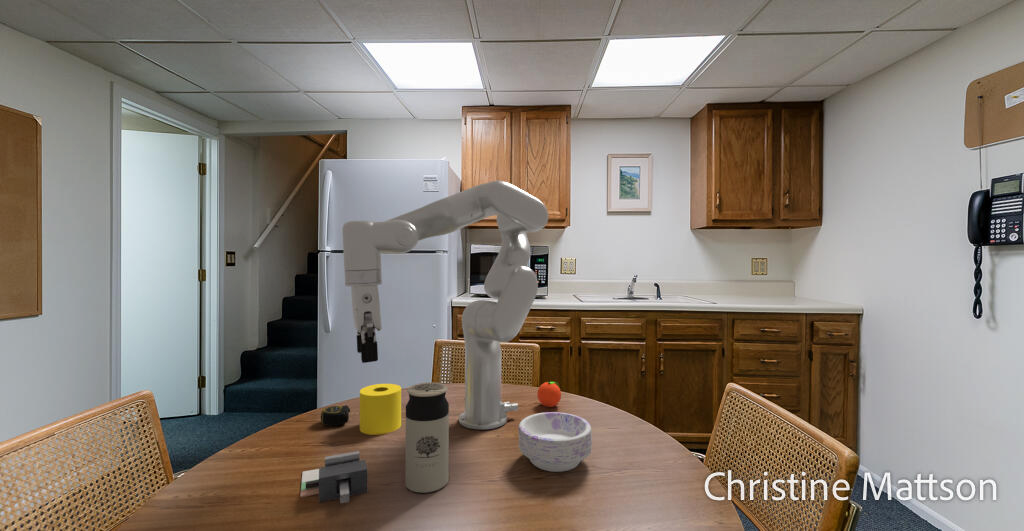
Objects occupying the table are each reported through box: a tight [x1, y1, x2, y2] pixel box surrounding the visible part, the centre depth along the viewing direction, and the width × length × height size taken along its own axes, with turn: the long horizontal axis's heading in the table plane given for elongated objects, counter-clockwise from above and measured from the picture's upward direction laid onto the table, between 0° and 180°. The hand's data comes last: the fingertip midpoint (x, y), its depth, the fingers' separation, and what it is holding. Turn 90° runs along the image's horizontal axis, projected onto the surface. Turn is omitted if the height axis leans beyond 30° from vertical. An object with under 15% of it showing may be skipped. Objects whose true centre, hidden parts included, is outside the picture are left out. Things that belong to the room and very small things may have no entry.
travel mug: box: [404, 382, 450, 494], centre depth 79 cm, size 8×8×18 cm
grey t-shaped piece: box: [306, 450, 361, 504], centre depth 74 cm, size 9×10×5 cm
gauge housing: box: [318, 459, 369, 503], centre depth 76 cm, size 8×4×4 cm, turn 114°
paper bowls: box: [518, 411, 593, 473], centre depth 88 cm, size 15×15×8 cm
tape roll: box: [359, 383, 402, 436], centre depth 106 cm, size 10×10×9 cm
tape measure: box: [320, 405, 351, 427], centre depth 108 cm, size 7×7×4 cm
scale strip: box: [299, 468, 319, 498], centre depth 79 cm, size 3×10×1 cm, turn 24°
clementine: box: [536, 381, 562, 408], centre depth 122 cm, size 8×7×7 cm
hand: (367, 356), depth 91 cm, fingers open, 9 cm apart
